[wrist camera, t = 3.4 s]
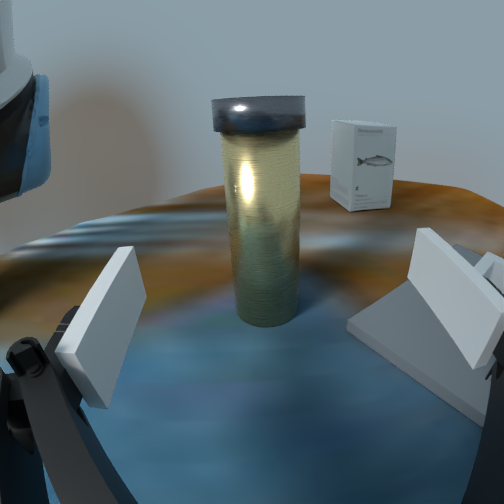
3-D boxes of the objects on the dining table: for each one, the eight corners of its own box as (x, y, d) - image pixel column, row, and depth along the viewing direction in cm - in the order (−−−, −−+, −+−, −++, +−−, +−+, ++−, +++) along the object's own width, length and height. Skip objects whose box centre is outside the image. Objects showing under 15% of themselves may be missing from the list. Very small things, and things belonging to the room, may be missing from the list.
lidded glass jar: (218, 302, 26) (196, 101, 19) (274, 279, 29) (268, 96, 21) (256, 341, 22) (241, 97, 14) (317, 310, 24) (324, 96, 17)
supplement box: (349, 213, 42) (353, 123, 37) (329, 197, 49) (329, 118, 43) (391, 209, 44) (398, 125, 38) (367, 194, 50) (371, 120, 44)
